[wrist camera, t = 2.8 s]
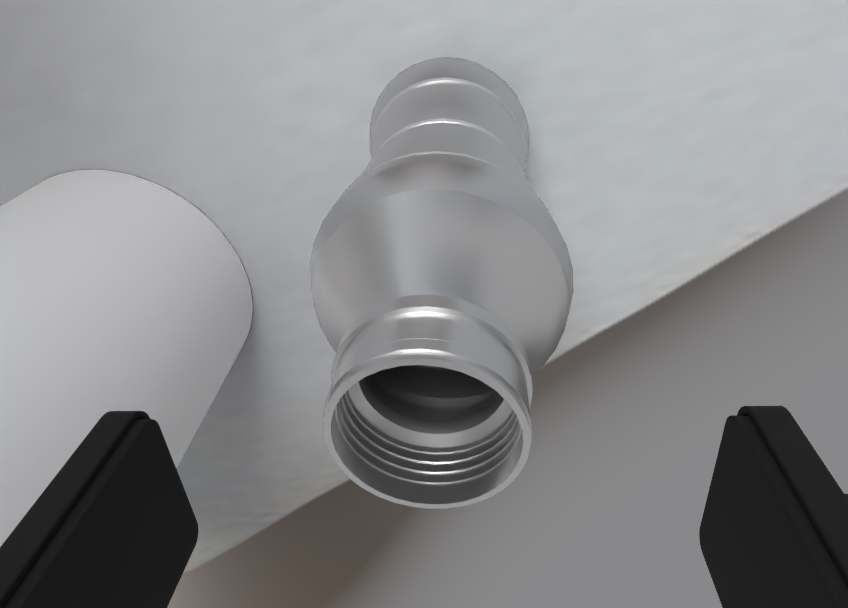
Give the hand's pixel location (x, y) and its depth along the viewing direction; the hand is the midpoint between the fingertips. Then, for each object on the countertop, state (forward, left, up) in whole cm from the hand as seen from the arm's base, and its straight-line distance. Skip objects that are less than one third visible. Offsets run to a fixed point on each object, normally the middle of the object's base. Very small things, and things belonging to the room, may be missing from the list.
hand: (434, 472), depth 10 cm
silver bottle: (0, 0, -21) cm, 21 cm away
